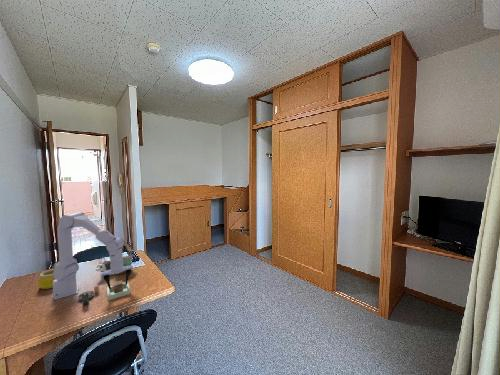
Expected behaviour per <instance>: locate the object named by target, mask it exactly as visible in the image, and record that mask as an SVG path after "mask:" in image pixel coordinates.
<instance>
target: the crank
mask: <svg viewBox="0 0 500 375" xmlns="http://www.w3.org/2000/svg"><path fill="white" fill-rule="evenodd" d="M94 295H95V293H94V290H88V291H84V292H81V293H79V295H78V296H77V298H78V301H80V302H82V306H88V305H89V304H90V299H92V298H93V297H94Z"/></svg>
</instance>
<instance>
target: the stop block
mask: <svg viewBox="0 0 500 375" xmlns="http://www.w3.org/2000/svg"><path fill="white" fill-rule="evenodd" d="M123 283H124V282H123V280H122V279H121V280H118V281H113V285H112V286H114V293H117V292H121V291H123Z"/></svg>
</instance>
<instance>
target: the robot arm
mask: <svg viewBox="0 0 500 375" xmlns="http://www.w3.org/2000/svg"><path fill="white" fill-rule="evenodd" d="M74 228H83V229H85V230H87V231H88V232H90V233H91V234H93V235H95V238H96V240H98V241H99V242H100V243H101V244H103V245H104V246H106V247H105V248H106V250H107V252H108V254H109V258H110V266H111V269H110V270H107V271H104V272H101V271H100V278H103V280H104V282H105V283H106V285H107V287H109V289H111V287H110V286H111V282H110V281H111V280H110V276H111V275H115V274H118V273H120V272H123V271H125V274H124V275H125V278H124V279H125V282H126V284H127V283H128V284H129V282H128V281H129V278H130V275H131V273H132V271H133V270H134V266H133V264H131V265H130V266H123V257H124V256H123V247H124V246H125V241H124V239H123V238H122V237H120V236H119V237H118V236H116V235H114V234H112V233H110V231H109V230H108V229H101V228H100V227H99V226H97V224H95V223H94V222H93V221H92V220H90V219H89V215H87V214H85V213H84V212H83V211H77V212H74V213H70V214H66V215H65V214H64V215H62V216H61V217H60V218H58V226H57V229H56V230H57V244H58V245H57V246H58V259H59V260H58V261H57V263H56V264H55V265H54V267H55V270H54V272H53V276H54V278H55V279H56V280H53V288H52V295H53V301H55V300H58V299H63V298H65V297H70V296H73V295H76V294H78V292H79V286H78V285H77V272H78V271H79V269H80V266H79V264H78V261H77V259H76V258H74V256H73V255H74V254H73V236H72V235H73V234H72V230H73V229H74ZM125 282H124V283H125Z"/></svg>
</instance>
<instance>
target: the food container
mask: <svg viewBox="0 0 500 375" xmlns="http://www.w3.org/2000/svg"><path fill="white" fill-rule="evenodd" d="M132 259H133V255H132V253H131V254H130V255H126V256H123V266H130V265H132ZM114 275H115V276H122V275H125V271H123V272H120V273H118V274H114Z"/></svg>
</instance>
